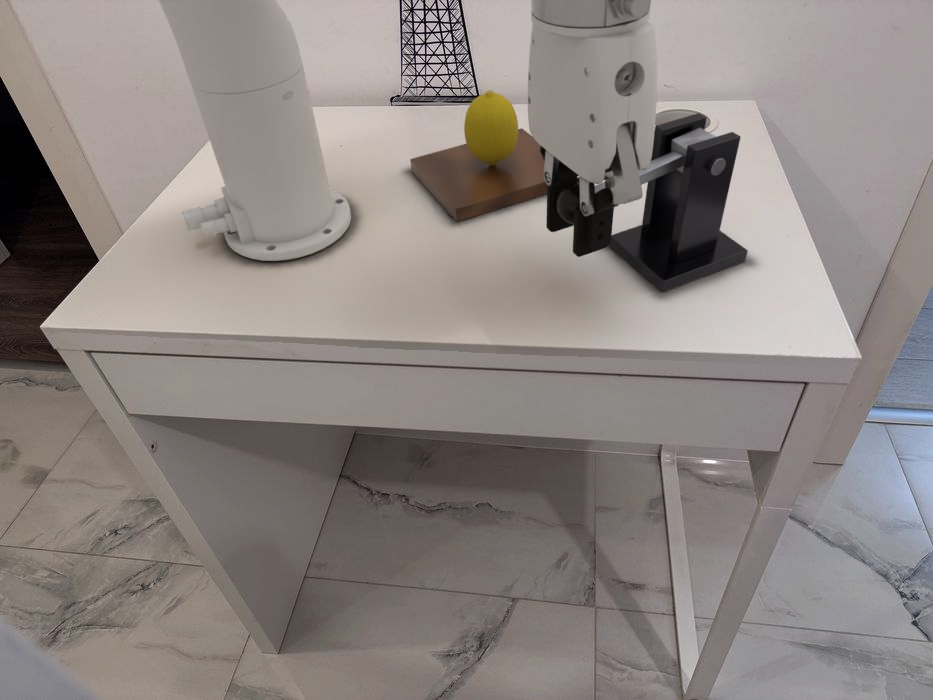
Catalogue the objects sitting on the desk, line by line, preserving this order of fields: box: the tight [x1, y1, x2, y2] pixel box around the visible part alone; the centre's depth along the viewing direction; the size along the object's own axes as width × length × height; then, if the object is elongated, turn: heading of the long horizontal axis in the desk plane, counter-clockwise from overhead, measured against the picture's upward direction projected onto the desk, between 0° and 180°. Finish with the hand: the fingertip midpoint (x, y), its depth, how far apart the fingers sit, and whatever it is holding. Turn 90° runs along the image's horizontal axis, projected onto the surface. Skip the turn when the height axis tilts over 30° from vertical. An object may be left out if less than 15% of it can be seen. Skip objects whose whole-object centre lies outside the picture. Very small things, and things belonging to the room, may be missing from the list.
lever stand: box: [608, 112, 749, 293], centre depth 59 cm, size 9×8×12 cm
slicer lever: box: [557, 128, 717, 224], centre depth 55 cm, size 14×3×3 cm, turn 115°
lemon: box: [463, 90, 519, 166], centre depth 71 cm, size 6×6×8 cm
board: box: [409, 128, 551, 223], centre depth 74 cm, size 14×12×2 cm
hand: (577, 236), depth 56 cm, fingers closed on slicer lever, 3 cm apart
